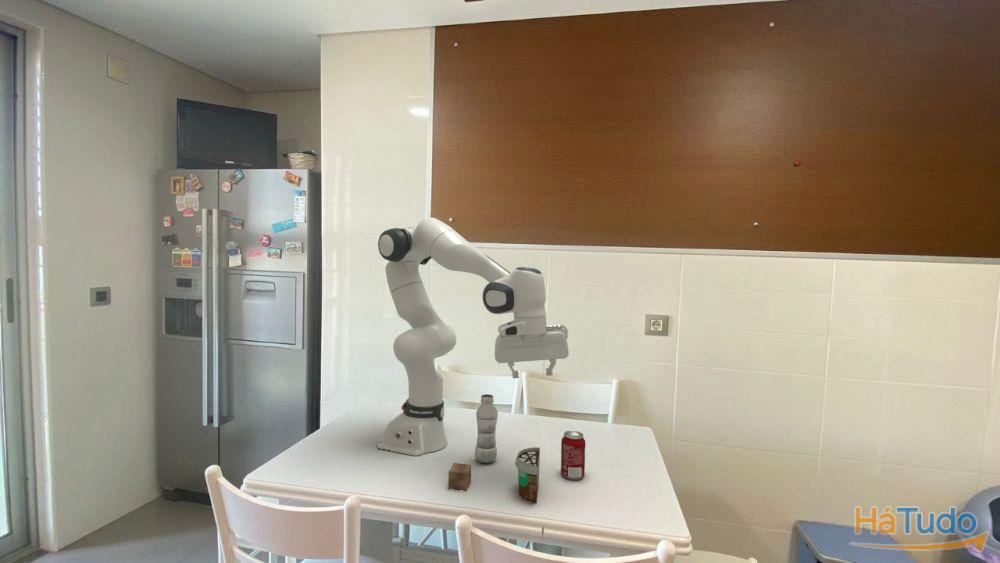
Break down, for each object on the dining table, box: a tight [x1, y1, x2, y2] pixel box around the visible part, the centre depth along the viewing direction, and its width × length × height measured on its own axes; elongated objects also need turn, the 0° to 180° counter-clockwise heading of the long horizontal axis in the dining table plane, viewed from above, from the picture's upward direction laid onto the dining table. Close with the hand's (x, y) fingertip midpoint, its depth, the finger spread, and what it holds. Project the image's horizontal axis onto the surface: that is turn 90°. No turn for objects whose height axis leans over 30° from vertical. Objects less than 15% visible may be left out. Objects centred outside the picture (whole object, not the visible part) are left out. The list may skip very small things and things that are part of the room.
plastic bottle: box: [474, 394, 499, 464], centre depth 135 cm, size 6×7×20 cm
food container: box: [514, 446, 541, 504], centre depth 117 cm, size 12×6×10 cm, turn 172°
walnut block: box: [447, 462, 472, 492], centre depth 121 cm, size 5×5×5 cm
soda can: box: [560, 430, 586, 481], centre depth 127 cm, size 7×7×12 cm
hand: (532, 376), depth 122 cm, fingers open, 8 cm apart
